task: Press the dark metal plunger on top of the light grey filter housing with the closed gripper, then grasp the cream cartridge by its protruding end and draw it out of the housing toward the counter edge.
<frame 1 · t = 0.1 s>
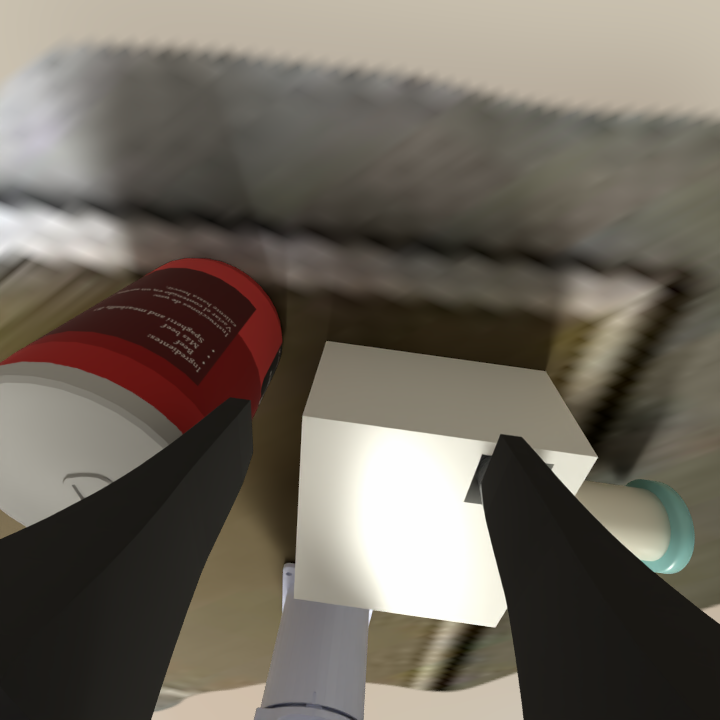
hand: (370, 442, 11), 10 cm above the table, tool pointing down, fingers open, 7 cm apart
canned food: (219, 323, 21), on the table
plunger: (506, 484, 17), point 6 cm above the table, slide at 0.0 cm
cartridge: (509, 504, 22), point 3 cm above the table, slide at 0.0 cm
housing: (412, 449, 25), on the table
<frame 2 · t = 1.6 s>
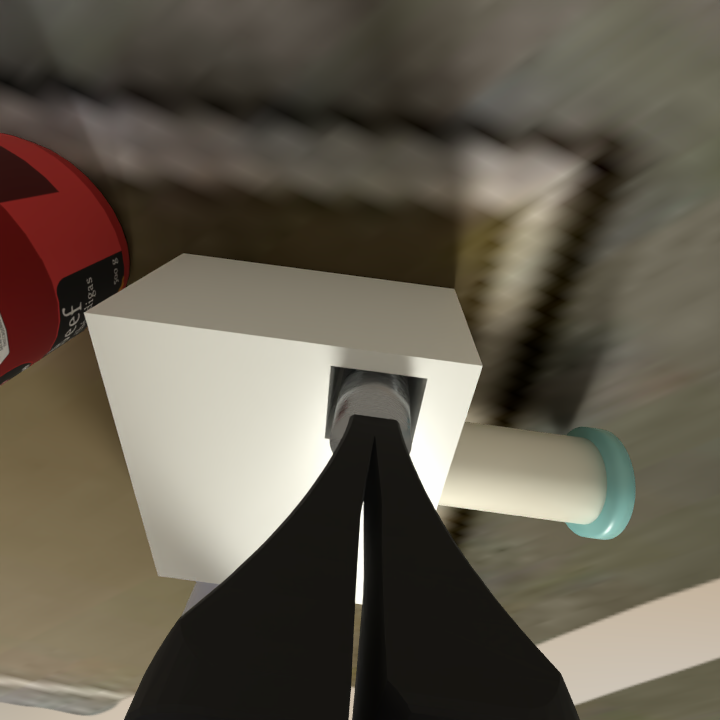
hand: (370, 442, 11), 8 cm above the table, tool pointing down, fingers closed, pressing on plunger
canned food: (52, 234, 17), on the table
plunger: (373, 402, 13), point 6 cm above the table, slide at 0.4 cm, touching gripper
cartridge: (414, 457, 18), point 3 cm above the table, slide at 0.0 cm
housing: (311, 398, 21), on the table
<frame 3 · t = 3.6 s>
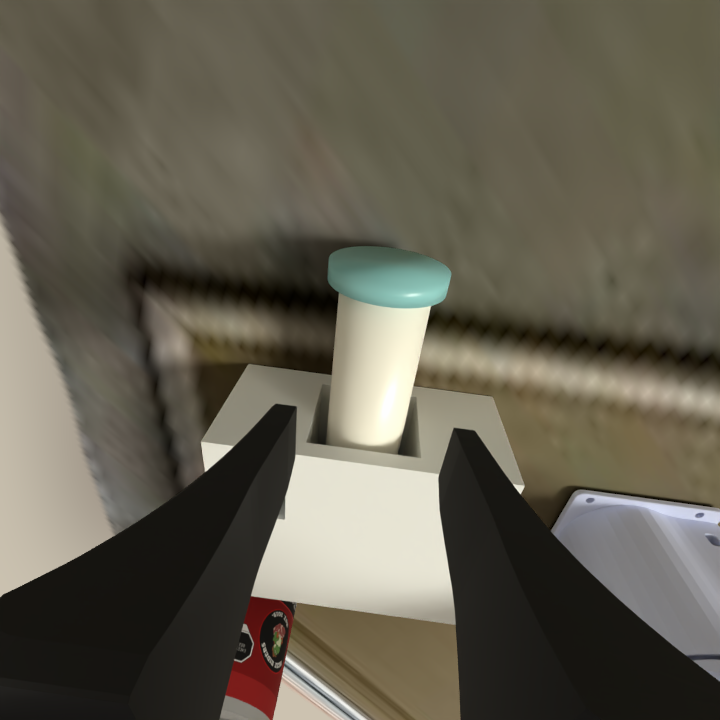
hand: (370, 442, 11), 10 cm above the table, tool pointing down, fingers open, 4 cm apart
canned food: (258, 548, 32), on the table
cartridge: (365, 426, 20), point 3 cm above the table, slide at 0.0 cm
housing: (358, 456, 25), on the table
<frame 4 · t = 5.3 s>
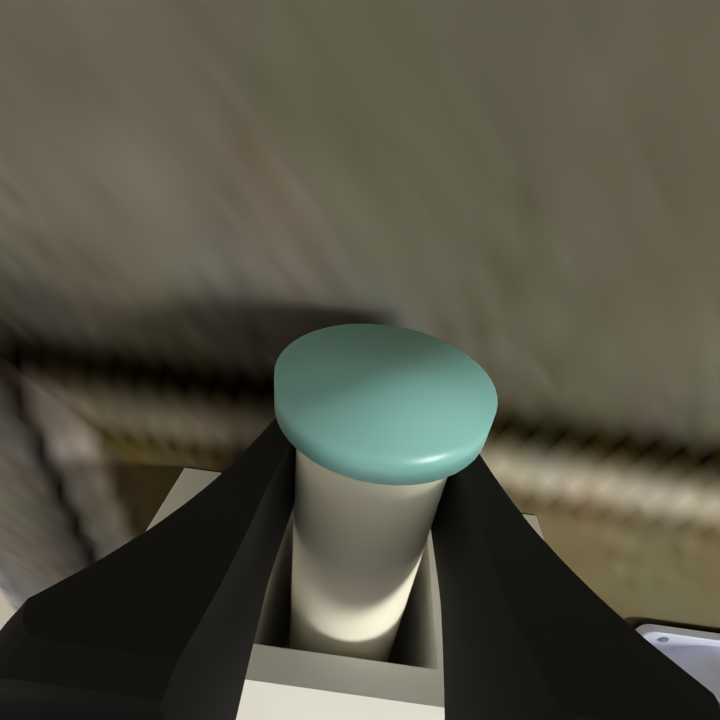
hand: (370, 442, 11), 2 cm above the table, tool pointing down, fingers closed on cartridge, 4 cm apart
cartridge: (349, 583, 13), point 3 cm above the table, slide at 0.0 cm, touching gripper
housing: (345, 576, 19), on the table
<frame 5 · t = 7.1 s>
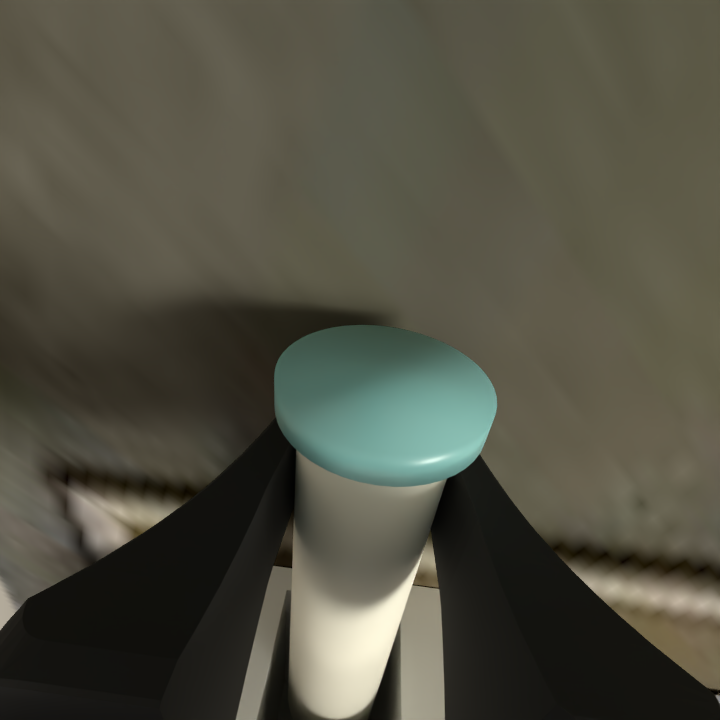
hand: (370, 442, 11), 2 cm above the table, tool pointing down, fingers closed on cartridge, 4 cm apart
cartridge: (349, 584, 13), point 3 cm above the table, slide at 5.9 cm, touching gripper
housing: (336, 636, 22), on the table
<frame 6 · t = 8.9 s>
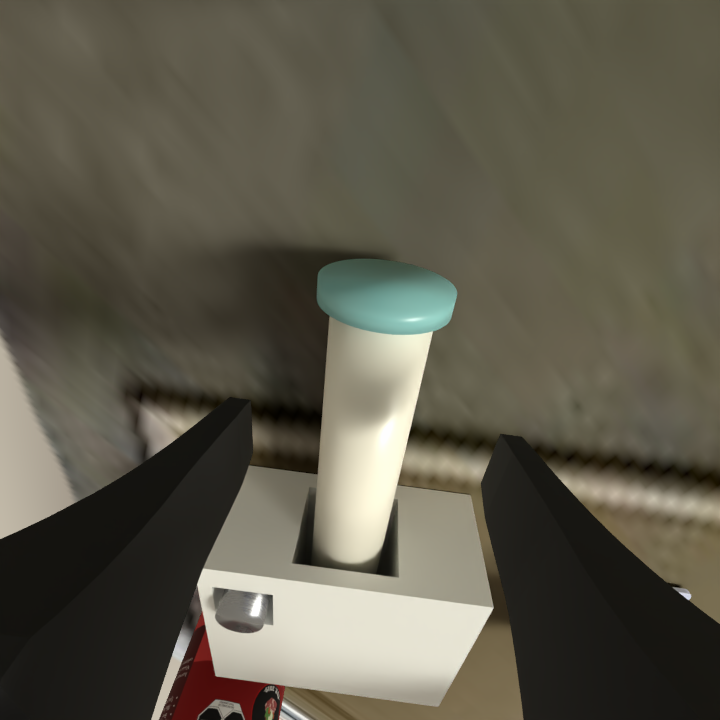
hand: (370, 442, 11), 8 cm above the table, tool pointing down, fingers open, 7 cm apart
canned food: (252, 611, 33), on the table
plunger: (251, 580, 21), point 5 cm above the table, slide at 1.3 cm
cartridge: (360, 455, 18), point 3 cm above the table, slide at 6.0 cm
housing: (346, 539, 27), on the table
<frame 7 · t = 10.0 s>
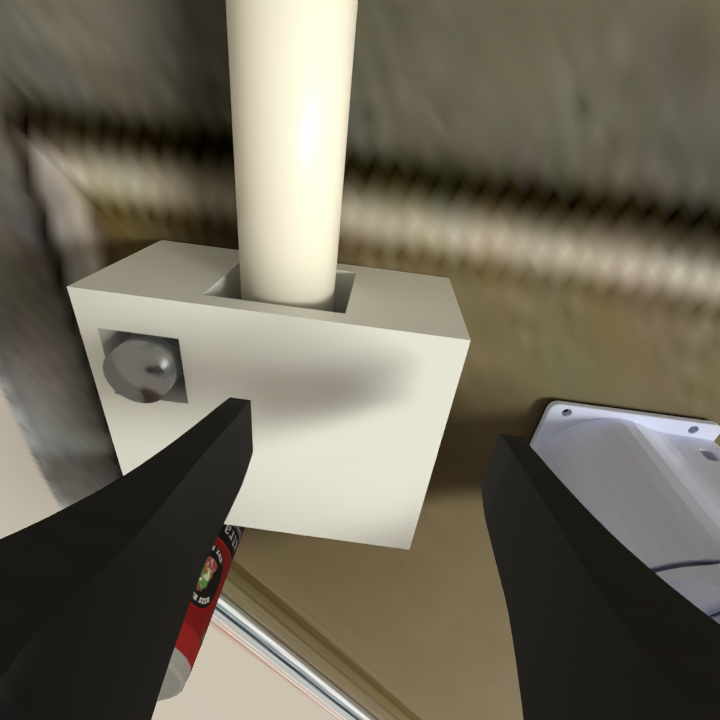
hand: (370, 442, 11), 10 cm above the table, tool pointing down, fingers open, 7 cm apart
canned food: (201, 487, 28), on the table
plunger: (162, 350, 16), point 5 cm above the table, slide at 1.3 cm
cartridge: (290, 132, 13), point 3 cm above the table, slide at 6.0 cm
housing: (300, 363, 22), on the table
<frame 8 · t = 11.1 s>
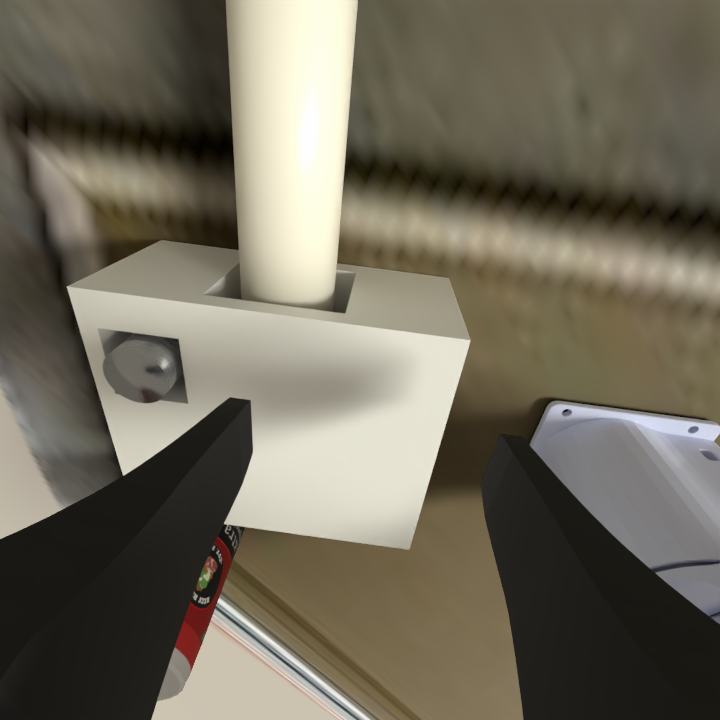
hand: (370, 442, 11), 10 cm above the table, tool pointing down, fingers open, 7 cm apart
canned food: (201, 487, 28), on the table
plunger: (162, 350, 16), point 5 cm above the table, slide at 1.3 cm
cartridge: (290, 132, 13), point 3 cm above the table, slide at 6.0 cm
housing: (300, 363, 22), on the table
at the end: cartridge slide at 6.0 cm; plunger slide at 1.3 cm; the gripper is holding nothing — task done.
